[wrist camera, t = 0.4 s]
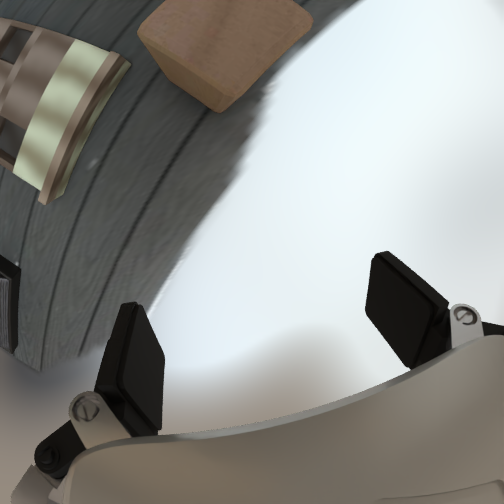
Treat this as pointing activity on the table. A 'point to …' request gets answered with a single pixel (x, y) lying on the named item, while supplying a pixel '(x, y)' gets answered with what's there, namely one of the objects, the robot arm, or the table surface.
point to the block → (221, 43)
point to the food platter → (9, 304)
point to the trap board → (50, 101)
